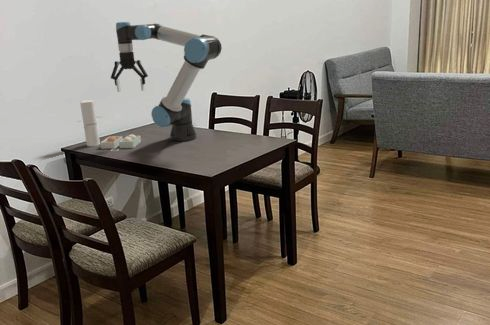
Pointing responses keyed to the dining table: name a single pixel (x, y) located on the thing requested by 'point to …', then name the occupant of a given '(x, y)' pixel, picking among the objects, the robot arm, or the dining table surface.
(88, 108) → the cylindrical container
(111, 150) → the coaster
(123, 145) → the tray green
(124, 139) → the ivory ball
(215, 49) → the robot arm
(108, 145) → the tray offwhite
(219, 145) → the dining table surface
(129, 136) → the ivory ball
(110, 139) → the terracotta ball
